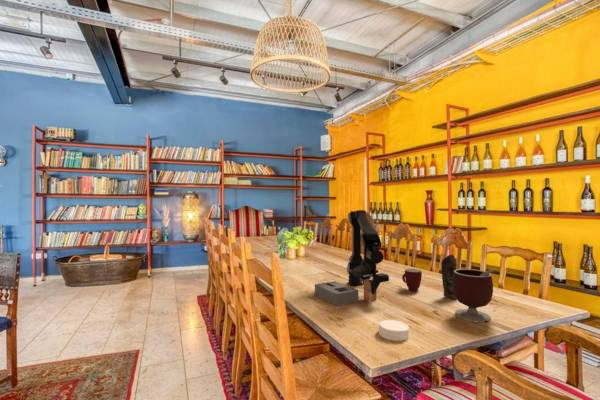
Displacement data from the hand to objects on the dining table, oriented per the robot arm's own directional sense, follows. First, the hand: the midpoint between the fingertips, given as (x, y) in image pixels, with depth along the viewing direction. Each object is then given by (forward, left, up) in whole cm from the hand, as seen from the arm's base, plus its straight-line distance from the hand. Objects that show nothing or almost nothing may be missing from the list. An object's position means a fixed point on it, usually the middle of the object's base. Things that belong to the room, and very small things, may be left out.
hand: (370, 293), depth 142 cm
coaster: (+18, +32, -4) cm, 37 cm away
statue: (-36, +16, -3) cm, 40 cm away
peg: (0, 0, -3) cm, 3 cm away
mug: (-29, -2, -3) cm, 29 cm away
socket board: (+12, -10, -3) cm, 16 cm away
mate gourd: (-21, +36, -3) cm, 42 cm away
